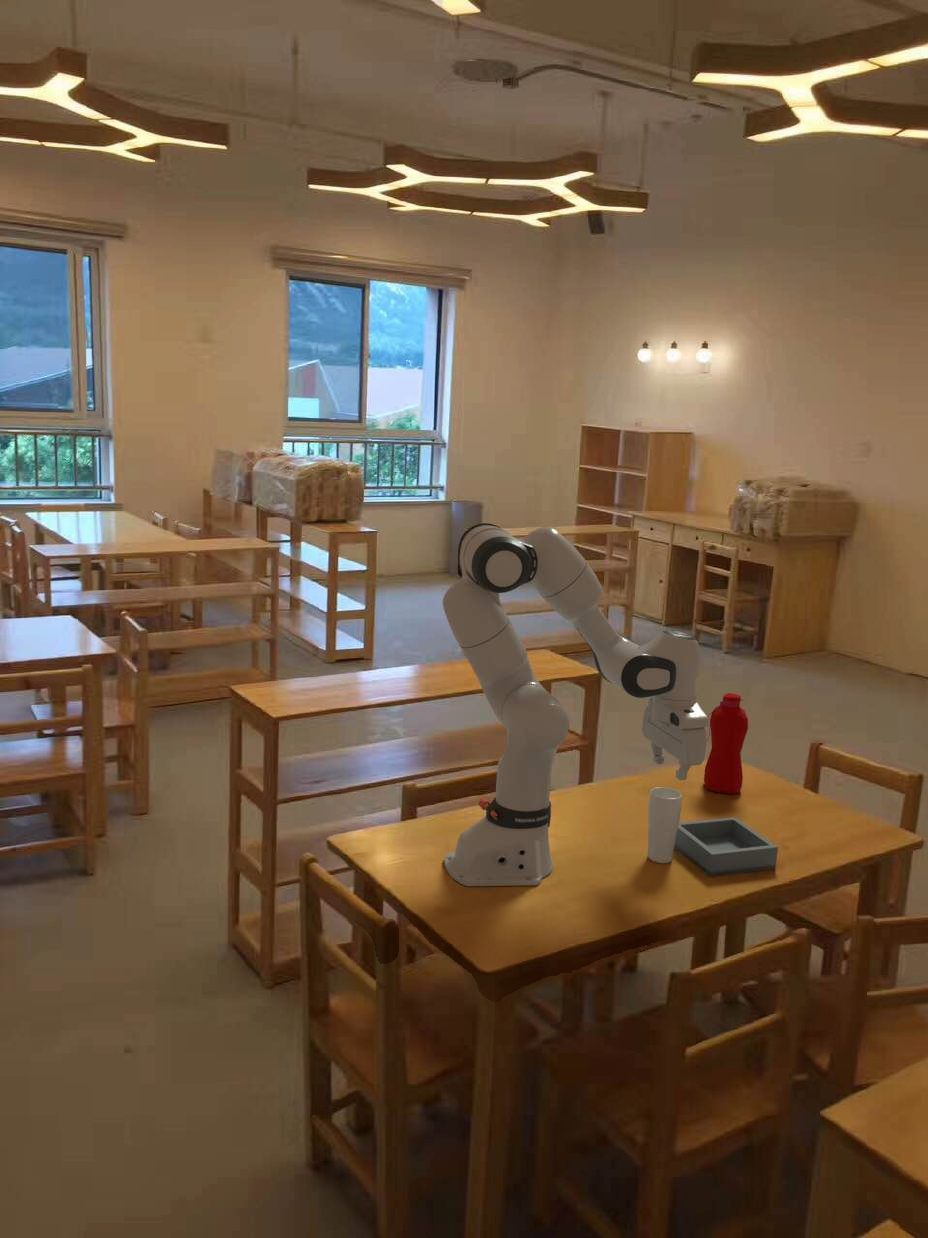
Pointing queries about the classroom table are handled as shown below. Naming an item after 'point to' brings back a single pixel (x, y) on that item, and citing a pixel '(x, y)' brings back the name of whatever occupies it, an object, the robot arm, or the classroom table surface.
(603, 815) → the classroom table surface
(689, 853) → the bin
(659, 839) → the drinking glass
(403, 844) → the classroom table surface
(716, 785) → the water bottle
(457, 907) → the classroom table surface
